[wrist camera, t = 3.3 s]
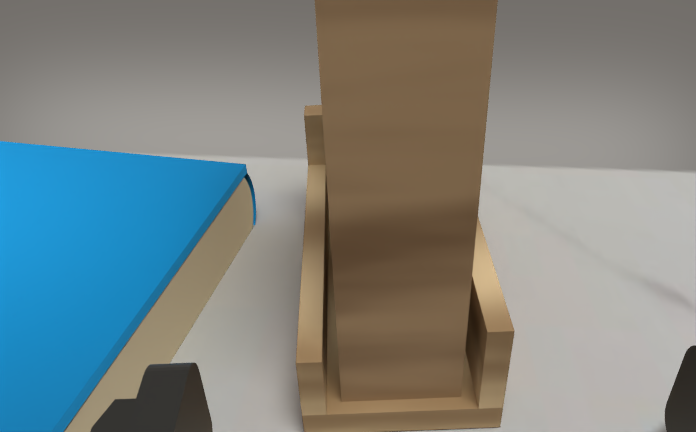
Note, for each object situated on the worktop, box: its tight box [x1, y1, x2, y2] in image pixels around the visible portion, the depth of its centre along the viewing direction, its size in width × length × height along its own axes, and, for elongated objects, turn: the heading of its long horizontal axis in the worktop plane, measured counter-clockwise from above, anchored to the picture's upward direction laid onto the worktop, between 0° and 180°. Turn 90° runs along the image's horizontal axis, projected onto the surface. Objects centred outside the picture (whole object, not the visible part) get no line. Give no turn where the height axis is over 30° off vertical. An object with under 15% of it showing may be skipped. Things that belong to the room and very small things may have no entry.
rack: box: [296, 105, 514, 432], centre depth 26 cm, size 13×7×6 cm, turn 1°
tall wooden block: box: [315, 0, 498, 402], centre depth 20 cm, size 6×4×16 cm, turn 1°
